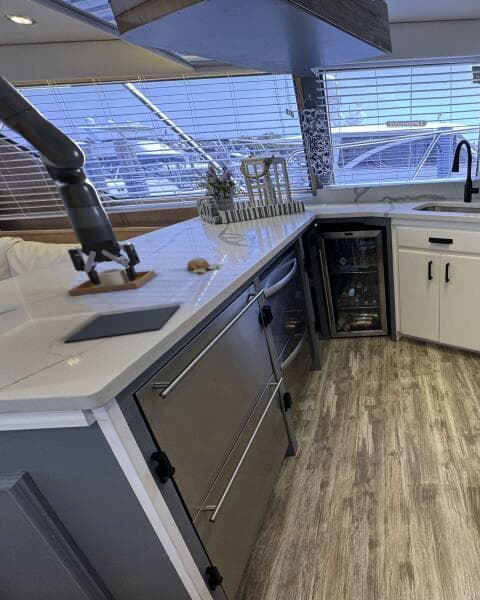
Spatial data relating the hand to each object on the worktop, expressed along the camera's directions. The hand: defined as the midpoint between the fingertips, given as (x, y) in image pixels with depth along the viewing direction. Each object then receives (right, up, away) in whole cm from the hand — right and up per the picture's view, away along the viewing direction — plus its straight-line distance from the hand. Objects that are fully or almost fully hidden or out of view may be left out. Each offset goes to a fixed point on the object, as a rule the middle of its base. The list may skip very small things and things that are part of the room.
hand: (115, 282), depth 90 cm
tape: (0, -1, 0) cm, 1 cm away
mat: (+22, -10, -22) cm, 33 cm away
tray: (0, -1, +1) cm, 1 cm away
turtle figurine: (+17, +4, +11) cm, 21 cm away
